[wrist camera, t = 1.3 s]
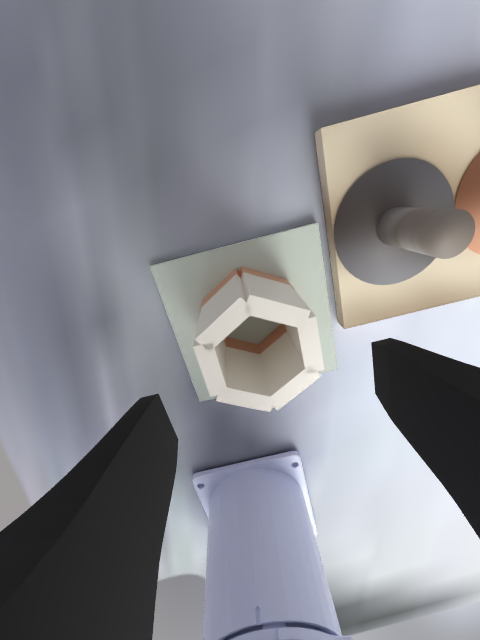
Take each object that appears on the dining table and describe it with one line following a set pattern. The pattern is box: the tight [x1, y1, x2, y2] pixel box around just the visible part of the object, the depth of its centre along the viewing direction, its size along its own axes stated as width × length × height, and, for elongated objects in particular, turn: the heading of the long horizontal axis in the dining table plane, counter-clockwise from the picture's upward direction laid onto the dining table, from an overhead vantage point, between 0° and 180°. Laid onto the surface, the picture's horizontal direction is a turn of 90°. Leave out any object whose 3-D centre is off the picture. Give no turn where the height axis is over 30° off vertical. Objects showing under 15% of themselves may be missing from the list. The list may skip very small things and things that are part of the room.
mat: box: [150, 222, 338, 402], centre depth 17 cm, size 9×9×1 cm
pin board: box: [314, 85, 480, 329], centre depth 13 cm, size 10×12×5 cm
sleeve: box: [193, 266, 324, 412], centre depth 14 cm, size 5×6×5 cm
